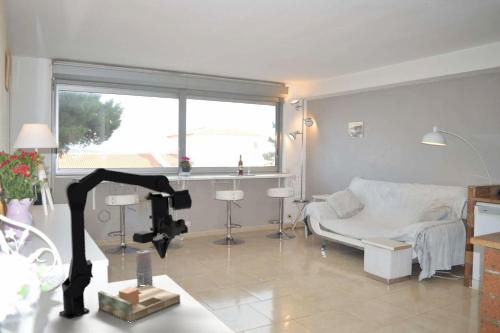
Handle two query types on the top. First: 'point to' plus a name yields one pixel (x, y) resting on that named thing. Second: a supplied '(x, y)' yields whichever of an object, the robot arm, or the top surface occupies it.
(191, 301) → the top surface
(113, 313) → the board
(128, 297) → the block
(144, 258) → the energy drink
